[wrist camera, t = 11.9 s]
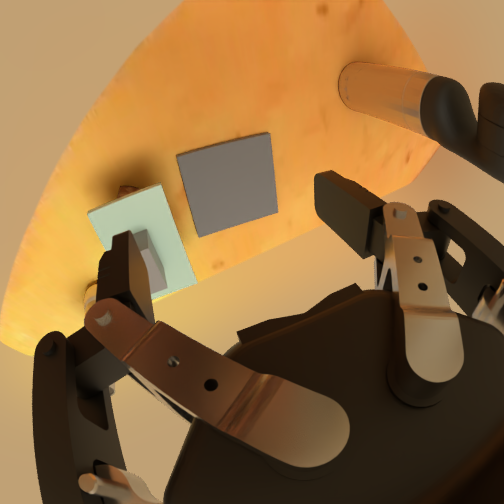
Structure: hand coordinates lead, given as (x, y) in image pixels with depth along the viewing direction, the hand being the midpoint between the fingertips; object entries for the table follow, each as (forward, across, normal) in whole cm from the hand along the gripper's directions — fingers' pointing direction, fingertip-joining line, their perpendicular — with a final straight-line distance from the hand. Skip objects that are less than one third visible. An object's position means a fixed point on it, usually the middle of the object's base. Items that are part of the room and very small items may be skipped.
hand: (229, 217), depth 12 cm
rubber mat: (+30, -7, +13) cm, 34 cm away
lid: (+20, +7, +13) cm, 25 cm away
